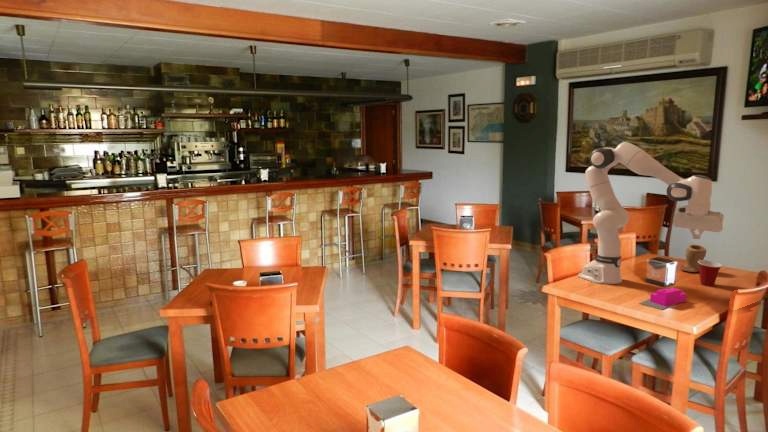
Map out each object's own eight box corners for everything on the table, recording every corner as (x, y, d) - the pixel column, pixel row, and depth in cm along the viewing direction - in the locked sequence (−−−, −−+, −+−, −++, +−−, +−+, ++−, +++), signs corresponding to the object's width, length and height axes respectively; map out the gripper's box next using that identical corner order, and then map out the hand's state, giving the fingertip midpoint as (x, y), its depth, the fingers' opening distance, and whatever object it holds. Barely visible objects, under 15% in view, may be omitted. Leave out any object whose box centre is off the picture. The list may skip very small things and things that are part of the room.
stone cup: (698, 275, 279) (700, 249, 277) (676, 270, 289) (678, 245, 287) (711, 270, 288) (713, 245, 285) (689, 266, 297) (691, 241, 295)
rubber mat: (639, 303, 235) (639, 303, 235) (663, 293, 249) (663, 292, 249) (662, 310, 227) (662, 309, 227) (685, 298, 241) (685, 298, 241)
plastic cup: (715, 289, 255) (718, 266, 253) (692, 284, 263) (694, 262, 261) (723, 285, 261) (725, 262, 259) (700, 280, 270) (702, 258, 268)
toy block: (665, 293, 230) (651, 288, 236) (664, 306, 231) (650, 301, 237) (687, 288, 236) (672, 284, 243) (685, 301, 237) (670, 296, 244)
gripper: (726, 211, 230) (723, 241, 232) (678, 206, 246) (676, 234, 248) (721, 213, 226) (718, 243, 228) (673, 208, 242) (670, 236, 244)
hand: (696, 238), depth 238 cm, fingers closed
